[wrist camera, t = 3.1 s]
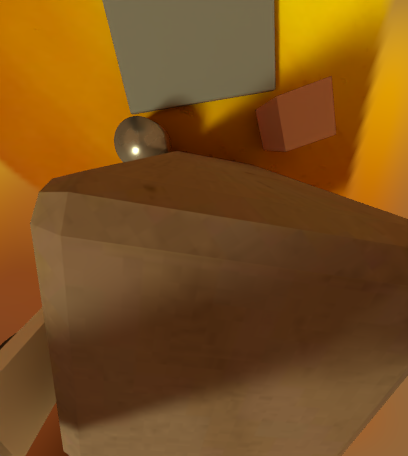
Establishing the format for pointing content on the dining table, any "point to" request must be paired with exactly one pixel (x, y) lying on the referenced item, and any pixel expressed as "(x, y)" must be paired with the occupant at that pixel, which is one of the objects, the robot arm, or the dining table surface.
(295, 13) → the dining table surface
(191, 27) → the mat
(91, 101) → the dining table surface
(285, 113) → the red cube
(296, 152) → the dining table surface
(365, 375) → the wooden block
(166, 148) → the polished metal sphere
